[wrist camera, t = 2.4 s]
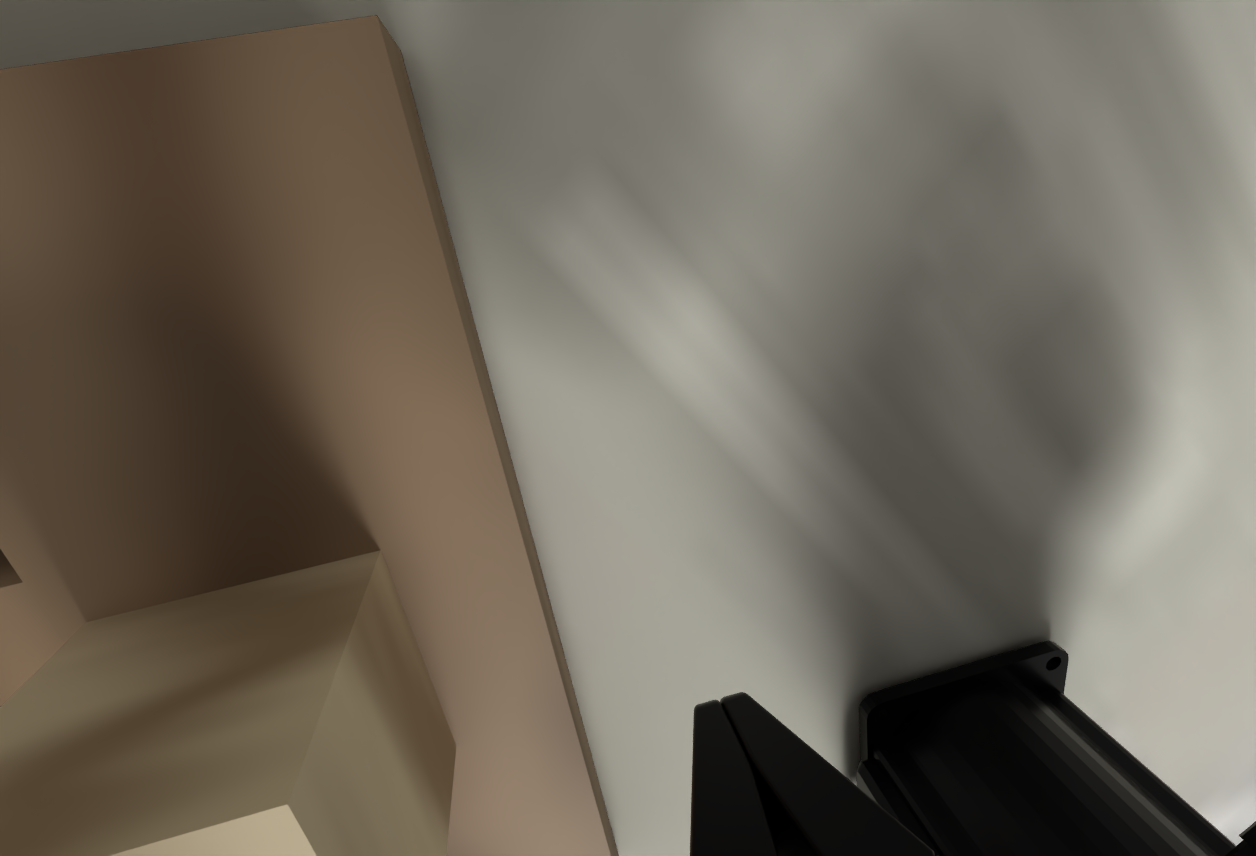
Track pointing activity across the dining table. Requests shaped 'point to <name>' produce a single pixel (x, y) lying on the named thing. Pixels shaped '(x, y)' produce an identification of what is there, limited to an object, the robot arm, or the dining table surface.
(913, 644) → the dining table surface
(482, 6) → the dining table surface
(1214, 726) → the dining table surface
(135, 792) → the maple block
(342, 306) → the trap board
